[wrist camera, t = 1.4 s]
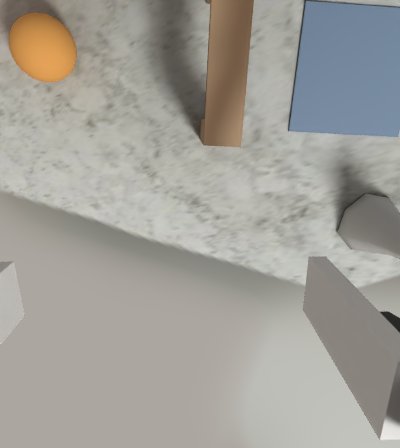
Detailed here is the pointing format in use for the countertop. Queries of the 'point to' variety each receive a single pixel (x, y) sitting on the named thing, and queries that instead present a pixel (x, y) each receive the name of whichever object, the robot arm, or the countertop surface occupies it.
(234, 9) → the bridge
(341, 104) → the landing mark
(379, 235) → the flask
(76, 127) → the countertop surface
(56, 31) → the ball
